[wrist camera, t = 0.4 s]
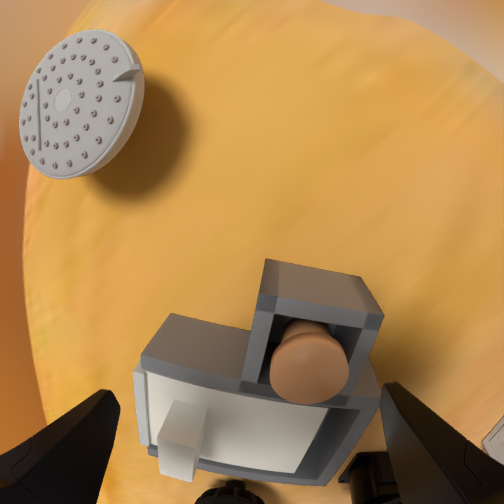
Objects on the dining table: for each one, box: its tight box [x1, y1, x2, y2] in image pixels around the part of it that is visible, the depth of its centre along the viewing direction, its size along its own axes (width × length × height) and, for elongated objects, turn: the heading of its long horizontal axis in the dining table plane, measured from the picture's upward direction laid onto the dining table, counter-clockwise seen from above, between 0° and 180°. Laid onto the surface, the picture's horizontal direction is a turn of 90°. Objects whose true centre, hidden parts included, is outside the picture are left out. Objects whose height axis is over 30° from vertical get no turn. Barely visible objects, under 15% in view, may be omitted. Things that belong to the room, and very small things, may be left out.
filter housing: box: [141, 259, 384, 486], centre depth 21 cm, size 18×16×6 cm
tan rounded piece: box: [270, 317, 349, 404], centre depth 17 cm, size 4×4×4 cm
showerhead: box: [19, 29, 145, 179], centre depth 16 cm, size 9×7×10 cm
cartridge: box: [133, 360, 328, 483], centre depth 20 cm, size 9×13×8 cm
